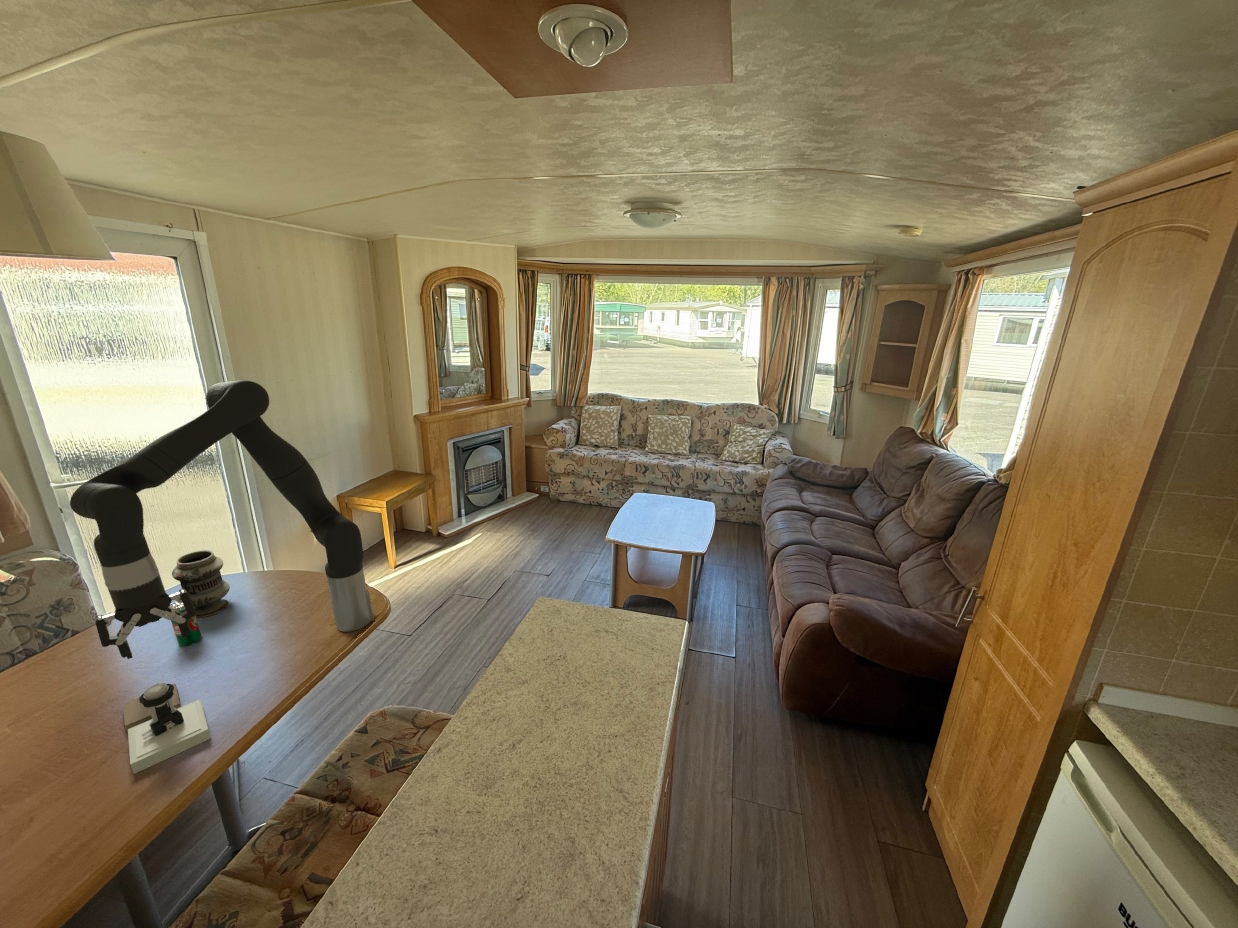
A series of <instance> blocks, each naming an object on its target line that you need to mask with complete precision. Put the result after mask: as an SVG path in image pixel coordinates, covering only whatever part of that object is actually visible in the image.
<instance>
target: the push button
mask: <svg viewBox="0 0 1238 928" xmlns="http://www.w3.org/2000/svg"><path fill="white" fill-rule="evenodd" d="M172 684H173V683H166V682H160V683H156V684H153V685H151V686H149V687H147V688H146V689H145V690H144V692H143V693H142V694H140V696H139V697H140V698H139V697H138V698H139V701H140V703H142V704H143V706H144V707H147V708H149V710H150V713H151V716H152V719H153V720H151V723H150V724H149V725H150V728H151V729H150V730H148V731H147V732H145V733H147V734H148V733H150V734H149V735H147V734H145V733H144V734H145V735H147V736H146V737H147V738H149V737H151V736H153V735H155V736H159V735H160V734H162V733H164V732H166V731H170V730H171V729H173V728H174V726H176V725H178V724H182V723H183V722H184V719H183V716H182V713H181V712H180V711H178V710H177V709H176V708H174V705H173V702H172V699H171V698H172V696H173V695H174V693H173V690H174V686H173V685H172ZM166 701H167V702H166ZM167 703H168V705H167ZM168 706H169V707H168ZM154 707H155V709H154ZM151 732H152V733H151ZM144 734H142V736H145V735H144ZM146 737H144V738H143V739H144V740H145V739H147V738H146Z"/></svg>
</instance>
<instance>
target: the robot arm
mask: <svg viewBox="0 0 1238 928" xmlns="http://www.w3.org/2000/svg"><path fill="white" fill-rule="evenodd" d="M205 396H206V397H205V399H206V401H205V402H206V405H207V407H208V409H207V410H206V411H205V412H203V413H202V414H201V415H198V416H196V418H194V419H192V420H190V421H188V422H187V423H185V424H182V425H181V426H179V427H177V428H175V429H173V430H171V431H169V432H167V433H164V434H163V435H161V436H159V437H158V438H156V439H155V440H153V441H152V442H150V443H148V444H147V445H146V446H144V447H143V448H141V450H139V451H137V452H136V453H134V455H132V456H131V457H129V459H127V460H126V461H124V462H122V463H120V464H118V465H115V466H114V467H111V468H110V469H107V470H105V471H104V472H101V473H99V474H97V475H96V476H94V477H91V478H90V479H88V480H86V481H85V482H84V483H82V484H80V486H79V487H77V488H76V490H75V491H74V492H73V493H72V495H71V497H70V502H69V506H70V509H72V511H73V513H75V514H76V515H78V516H80V517H82V518H85V519H89V520H94V521H95V523H96V524H97V527H98V532H99V534H97V535H96V536H95V537H94V539H93V547H94V552H95V553H96V556H97V559H98V561H99V564H100V566H101V572H102V577H103V580H104V585H105V586H106V587H107V590H108V592H109V595H110V598H111V601H112V604H113V606H114V609H115V611H114V612H113V613H108V614H105V615H103V614H97V615H96V616H95V618H94V620H95V623H94V624H95V627H96V629H97V634H98V637H99V641H100V643H101V647H103V648H107V647H109V646H117V649H118V652H119V654H120V656H121V658H127V660H130V659H132V658H133V654H132V650H131V648H130V645H129V643H128V640H127V638H128V637H129V635H130V634H131V633H132V631H133V630H134V628H135V627H139V628H140V627H144V626H146V625H148V624H150V623H156V622H159V621H160V619H162V618H164V619H165V620H168V621H171V620H173V621H175V622H177V623H178V626H179V629H180V632H181V635H182V638H183V639H184V638H187V636H186V635H188V634H189V633H190V631H189V628H188V625H187V619H189V618H190V617H193V616H195V615H196V613H195V610H194V608H193V605H192V603H191V601H190V598H189V596H188V594H187V591H186V589H182V588H180V589H179V591H178V592H175V593H172V594H170V595H169V594H168V593H167V592H166V589H165V586H164V584H163V581H162V577H161V575H160V571H159V567H158V566H157V563H156V561H155V559H154V557H153V555H152V554H151V551H150V548H149V544H148V542H147V539H146V537H145V535H144V529H145V527H144V521H145V520H144V507H143V504H142V501H141V499H140V497H139V495H138V493H140V492H141V491H143V490H147V489H152V488H153V489H154V488H157V487H159V486H161V485H163V484H164V483H165V482H167V481H168V480H170V479H171V478H173V476H175V475H176V474H177V473H178V472H180V471H181V470H182V469H183V468H185V467H186V466H187V465H188V464H190V463H191V462H192V461H194V459H196V458H197V457H198V456H200V455H201V454H202V453H204V452H205V451H206V450H208V449H209V448H210V447H212V446H214V445H216V443H218V442H219V441H221V440H222V439H223V438H225V437H227V436H229V435H230V434H232V435H233V436H234V437H235V438H236V439H237V440H238V441H239V443H240V444H241V445H242V446H243V447H244V448H245V450H246V452H248V455H250V456H251V458H252V459H253V460H254V461H255V463H256V464H257V465H258V466H259V467H260V469H261V470H262V472H263V473H264V474H265V476H266V477H267V478H268V480H269V481H270V482H271V483H272V485H273V486H274V487H275V488H276V489H277V491H278V492H279V493H280V494H281V495H282V496H283V498H285V499H286V501H287V502H288V503H290V505H292V506H293V507H294V509H296V510H297V511H298V512H299V513H300V515H301V517H302V518H303V519H304V521H305V522H306V523H307V526H308V527H309V529H310V531H311V532H312V534H313V536H314V538H315V539H316V540H317V542H318V543H319V544H320V545H321V546H323V547H324V548H325V554H326V558H327V562H326V563H325V565H324V571H325V575H326V580H327V581H326V582H327V587H328V590H329V595H330V600H331V601H330V602H331V607H332V612H333V616H334V622H335V628H336V629H337V630H338V631H340V632H345V633H346V632H347V633H348V632H354V631H357V630H360V629H362V628H364V627H366V626H368V625H369V623H370V622H372V621H374V620H375V618H374V617H375V616H374V611H373V606H372V604H373V603H372V601H371V595H370V594H371V593H370V591H369V590H368V589H367V583H366V577H365V572H364V566H363V561H364V549H363V541H362V540H363V538H362V533H361V530H360V528H359V526H358V525H357V524H356V523H355V522H353V521H352V520H351V519H349V518H347V517H345V516H344V515H343V514H341V512H339V511H338V509H336V508H335V506H334V505H333V504H332V503H331V501H330V500H329V499H328V498H327V496H326V495H325V492H324V489H323V487H322V484H321V482H320V478H319V477H318V474H317V473H316V472H315V469H314V468H313V467H312V466H311V464H310V463H309V462H308V460H307V459H306V458H305V456H304V455H303V454H302V453H301V452H300V451H299V450H298V449H297V448H296V447H294V446H293V445H292V444H291V443H289V442H288V441H287V440H285V439H284V438H283V437H281V436H280V435H278V434H277V433H276V432H274V431H273V430H272V429H271V428H270V427H269V426H268V425H267V424H266V422H265V421H264V419H263V418H262V417H261V416H263V415H264V414H265V413H266V411H267V410H268V409H269V405H270V397H269V394H268V391H267V390H266V389H265V387H263V386H262V385H261V384H259V383H257V382H255V381H251V380H246V379H245V380H242V379H240V380H239V379H237V380H232V381H222V382H218V383H215V384H213V385H211V386H210V387H209V388H208V390H207V393H206V395H205ZM172 601H174V602H176V601H177V602H178V603H181V602H183V604H184V607H185V609H186V611H185V612H183V613H180V612H178V611H175V610H174V609H172V608H170V607H169V605H170V604H172V603H173V602H172ZM113 620H116V621H119V622H121V625H120V628H119V630H118V631H117V633H116V635H111V636H110V633H109V629H108V627H110V626H111V625H112V623H113Z"/></svg>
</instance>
